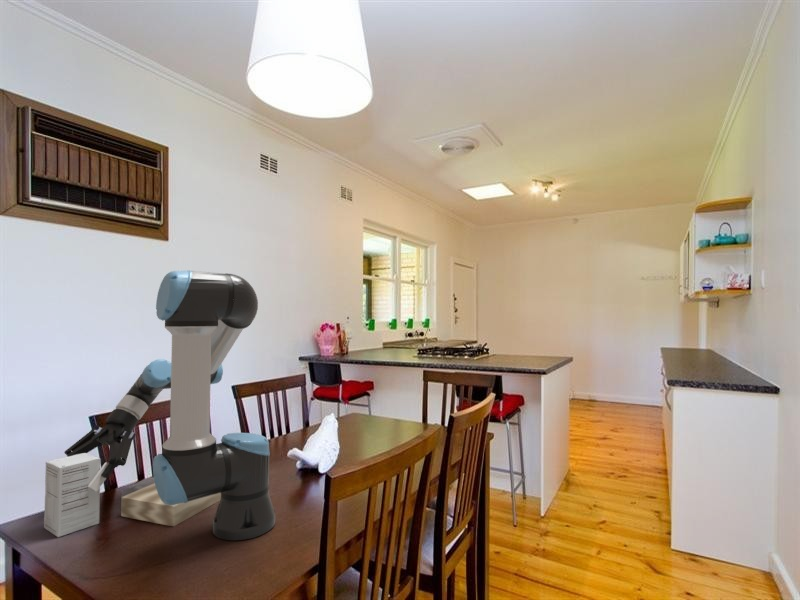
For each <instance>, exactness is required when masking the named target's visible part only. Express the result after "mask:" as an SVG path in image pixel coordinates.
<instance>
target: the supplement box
mask: <svg viewBox="0 0 800 600" xmlns="http://www.w3.org/2000/svg"><path fill="white" fill-rule="evenodd" d="M101 462H102V461H101V458H100V457H97V456H94V455H92V454H90V453H82V454H76V455H73V456H69V457H67V456H66V457H60V458H56V459H55V458H54V459H52V460H47V461H46V462H45V478H44V479H45V480H44V481H45V484H44V485H45V486H44V487H45V490H44V491H45V494H44V514H43V515H44V517H43V518H44V519H43V520H44V521H43V524H44V525H43V528H44V529H45V530H47V531H48V532H49V533H51V534H53V535H54V536H56V538H61V537H63V536H67V535H68V534H72V533H76V532H78V531H81V530H83V529H87V528H90V527H92V526H93V527H94V526H96V525H98V524H100V504H101V501H100V500H101V499H100V498H101V487H100V488H99V489H98V491H97V492H96V491H93V490H92V489H90V488H89V487H88V485H89V484H90V482H91V481H92V480H93V478H94V477H95V476H96V474H97V473H98V472H99V470H100V469H101Z"/></svg>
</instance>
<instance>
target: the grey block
mask: <svg viewBox="0 0 800 600" xmlns="http://www.w3.org/2000/svg"><path fill="white" fill-rule="evenodd" d="M154 483H155V481H154V476H153V477H147V478H144V479H142V480H140V481H137V482H136V483H134V484H132V485H131V486H128V487H125V488H123V489H122V490H121V498H122V497H123V496H126V495H128V494H131V493H133V492H135V491H138V490H140V489H142V488H145V487H147V486H149V485H152V484H154Z"/></svg>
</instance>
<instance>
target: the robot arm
mask: <svg viewBox="0 0 800 600" xmlns="http://www.w3.org/2000/svg"><path fill="white" fill-rule="evenodd" d="M159 285H160V286H159V289H158V291H157V295H156V296H157V297H156V304H155V309H156V312H155V313H156V316H157V319H159V320H160V321H162V322H163V321H164V328H165V329H166V331H168V332H169V333H170V335H171V357H170V359H171V362H170V361H168V360H166V359H164V358H163V359H162V358H159V359H155V360H153V361H151V362H150V363H149V364H147V365H146V366H145V367H144V369H143V371H142V372H141V374H140V375H139V377H138V378H137V379H136V380H135V382H134V383H133V384H132V386H131V387H130V388H129V390H128V391H127V393H125V395H124V396H122V398H121V400H120V401H119V402H118V403H117V404H116V406H115V409H113V410H112V411H111V412H110V414H109V415H108V416H107V418H106V419H105V421H106V424H105V425H104V426H103V427H100V425H98V424H97V425H94V426H93V428H91V429H90V431H89V432H87V433H86V434H85V435H84V436H83V437H81V438H80V439H78V440H77V441H76V442H75V443H73V444H72V445H71V446H69V447H68V448H67V449H66V450H65V451H64V454H65V455H66V457H69V456H73V455H77V454H82V453H87V454H89V453H90V452H92V450H95V449H96V448H98V447H102V446H109V451H108V453H109V454H108V459H107V460H106V462H104V464H103V465H101V466H100V470H99V472H98V473H97V474H96V476H95V477H94V478H93V480H92V481H91V482H90V484H89V485H88V487H89V488H90V489H92V490H93V491H96V492H97V491H98V489H99V488H100V489H101V486H102V485H103V484H104V482H105V481H106V480H107V479H108V478H109V477H110V476H111V474H112V473H113V471H114V470H115V469H116V468H118V467H119V466H122V467H124V466H125V465H126V464H127V460H128V456H129V452H130V449H131V446H132V443H133V440H134V438H135V437H136V433H135V432H134V429H135V427H136V426H137V424H138V423H139V420H141V418H143V416H144V415H145V413H146V412H147V411H148V409H149V407H150V406H151V405H152V404H153V402H154V401H155V400H156V398H157V397H158V396H159V394H160V393H161V392H163V390H167V389H168V390H169V389H170V405H169V406H170V410H169V412H170V415H169V416H170V417H169V418H170V419H169V437H168V438H166V441H164V442H163V443H162V445H161V446H162V448H161V451H162V452H161V453H157V455H155V456H154V457H153V459H152V474H153V477H154V481H155V485H156V489H157V492H158V495H159V497H160V499H161V500H162V502H163V503H165V504H166V505H175V504H179V503H187V502H188V501H192V500H196V499H199V498H203V497H207V496H210V495H214V494H218V493H221V500H220V501H219V503H218V506H217V508H216V512H215V514H214V518H213V521H212V534H213V535H214V536H215V537H217V538H218V539H221V540H226V541H244V540H245V541H246V540H249V539H253V538H257V537H259V536H262V535H264V534H266V533H268V532H269V531H271V529H273V527H275V524H276V512H275V509H274V506H273V503H272V500H271V495H270V491H269V489H270V487H269V486H270V484H269V483H270V481H269V480H270V455H271V453H270V442H269V439H268V437H266V436H264V435H261V434H259V433H253V432H231V433H226V434H224V435H223V436H221V439H220V441H221V442H220V443H219V442H218V443H217V438H216V437H215V436H214V435H212V434H211V432H210V431H211V430H210V429H211V426H210V425H211V424H210V420H211V385H214V384H218V383H220V382H221V381H222V379H223V374H224V370H223V369H224V368H223V364H222V363H224V361H225V358H226V357H227V356H228V354H229V352H230V350H232V347H233V346H234V344H235V343H236V342H237V339H238V338H239V337H240V335H241V333H242V332H243V330H244V329H246V328H248V327H249V326H250V325H251V324H252V322H254V320H255V318H256V315H257V313H258V307H259V302H258V296H257V294H256V291H255V289H254V288H253V286H252V285H251V284H250V283H249V282H248V280H246V279H245V278H243V277H241V276H240V275H236V274H235V273H234V274H233V273H219V272H209V271H208V272H207V271H199V270H198V271H197V270H196V271H195V270H172V271H169V272H167V273H166V274H165V275H164V276H163V279H162V280H161V282H160V284H159Z"/></svg>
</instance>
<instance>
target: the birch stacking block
mask: <svg viewBox="0 0 800 600" xmlns="http://www.w3.org/2000/svg"><path fill="white" fill-rule="evenodd" d="M220 500H221V493H218V494H214V495H210V496H207V497H203V498H199V499H196V500H192V501H188V502H187V503H179V504H175V505H166V504H165V503H163V502H162V500H161V499H160V497H159V495H158V492H157V489H156V485H155V483H154V484H152V485H149V486H147V487H145V488H142V489H140V490H138V491H135V492H133V493H131V494H128V495H126V496H123V497H122V496H121V501H120V503H121V505H120V516H121V517H124V518H127V519H128V518H129V519H134V520H138V521H143V522H144V521H145V522H148V523H149V522H150V523H154V524H157V525H158V524H160V525H164V526H169V527H176V526H178V525H179V524H182V522H184V521H186V520H188V519H190V518H192V517H193V516H196V515H197V514H198V513H201V512H202V511H204V510H206V509H207V508H209V507H211V506H212V505H215V504H217V503H218V502H220Z"/></svg>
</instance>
